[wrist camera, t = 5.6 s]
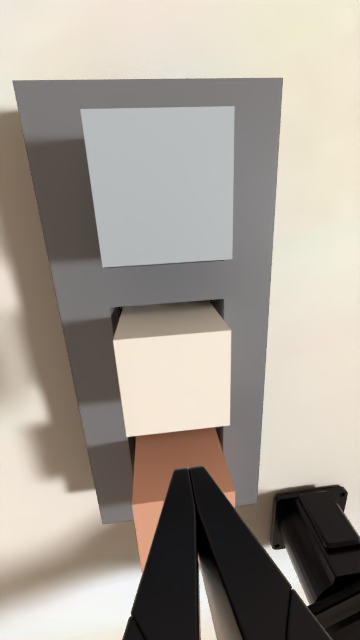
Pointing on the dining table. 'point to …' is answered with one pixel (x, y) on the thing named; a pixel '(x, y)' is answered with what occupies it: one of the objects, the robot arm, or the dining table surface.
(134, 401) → the cream key
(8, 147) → the dining table surface
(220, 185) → the light grey cube
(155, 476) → the terracotta key
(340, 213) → the dining table surface
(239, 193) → the grey slotted tray
